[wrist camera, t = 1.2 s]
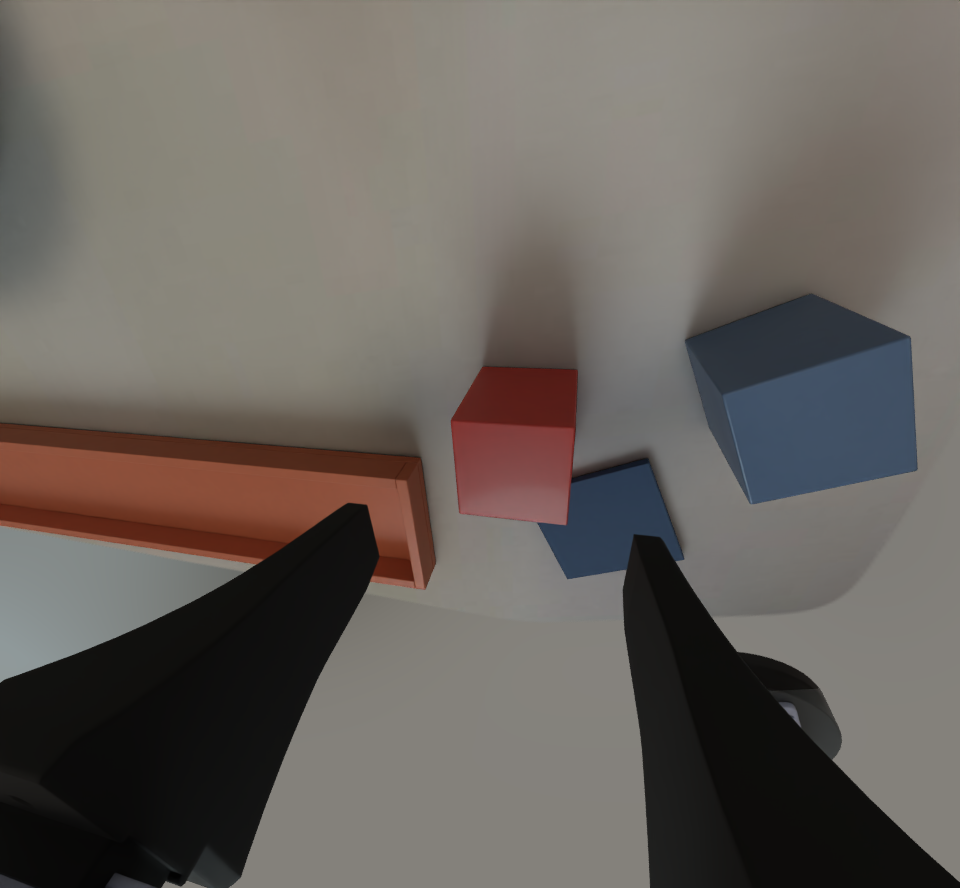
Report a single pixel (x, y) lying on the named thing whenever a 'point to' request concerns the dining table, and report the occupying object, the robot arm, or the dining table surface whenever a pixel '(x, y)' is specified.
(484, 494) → the red block
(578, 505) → the blue mat
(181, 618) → the robot arm
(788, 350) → the blue block
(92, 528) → the red tray
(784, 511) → the dining table surface
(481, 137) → the dining table surface
